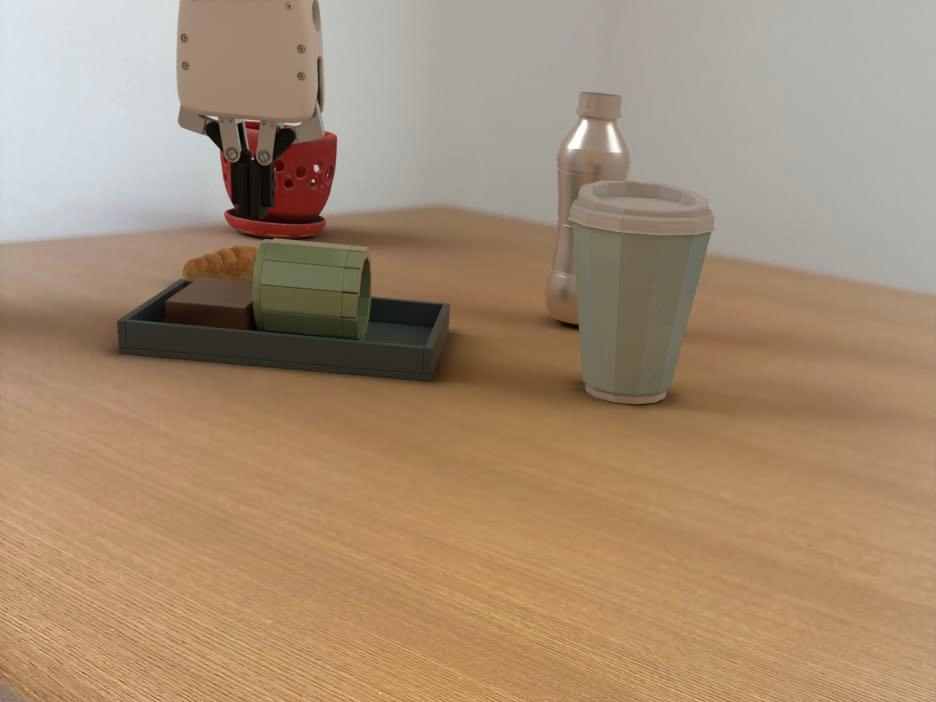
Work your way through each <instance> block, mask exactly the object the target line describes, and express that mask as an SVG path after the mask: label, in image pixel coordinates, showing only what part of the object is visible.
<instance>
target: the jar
mask: <svg viewBox="0 0 936 702" xmlns="http://www.w3.org/2000/svg"><path fill="white" fill-rule="evenodd" d="M258 247H259V249H258V252H257V256H256V261H255V267H254V275H253V311H254V318H255V323H256V326H257V329H258V331H260V332H271V333H282V334H293V335H304V336H315V337H326V338H337V339H348V340H359V341H364V340H365V339H366V336H367V331H368V326H369V319H370V310H371V297H373V265H372V255H371V253H370V249H369V247H368V246H361V245H351V244H339V243H329V242H319V241H307V240H299V239H281V238H264V239H263V240H261V242H260V244H259V246H258Z"/></svg>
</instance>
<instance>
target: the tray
mask: <svg viewBox="0 0 936 702" xmlns="http://www.w3.org/2000/svg"><path fill="white" fill-rule="evenodd" d="M194 281H196V280H185V279H183V278H179V279H178V280H176V281H175V282H174V283H172V284H170V285H169V286H167V287H166V288H164V289H162V290H161V291H159V292H158V293H157V294H155V295H154V296H152V297H150V298H149V299H148V300H146V301H145V302H143V303H141V304H140V305H138V306H137V307H135V308H134V309H132V310H131V311H130V312H128V313H126V314H125V315H123V316H122V317H120V318H119V319H117V320H116V328H117V329H116V330H117V341H118V342H117V345H118V354H120V355H121V354H122V355H131V356H143V357H154V358H166V359H176V360H186V361H189V360H190V361H199V362H210V363H220V364H231V365H232V364H233V365H242V366H255V367H266V368H277V369H287V370H299V371H309V372H311V371H312V372H322V373H332V374H333V373H334V374H342V375H343V374H344V375H353V376H367V377H376V378H377V377H378V378H387V379H400V380H410V381H421V382H422V381H423V382H431V381H432V379H433V376H434V373H435V370H436V367H437V364H438V362H439V359H440V356H441V353H442V351H443V348H444V346H445V344H446V340H447V337H448V335H449V332H450V314H451V313H450V312H451V304H450V303H447V302H444V303H443V302H438V301H437V302H436V301H425V300H424V301H423V300H415V299H404V298H394V297H393V298H391V297H380V296H372V297H371V310H370V319H369V326H368V331H367V336H366V339H365V340H364V341H359V340H348V339H337V338H326V337H315V336H304V335H293V334H282V333H271V332H260V331H249V330H237V329H226V328H215V327H204V326H193V325H182V324H171V323H166V305H165V302H166V301H167V300H168V299H169V298H171V297H172V296H174V295H175V294H177V293H178V292H180V291H181V290H182V289H184V288H185V287H187V286H188V285H190V284H191V283H193V282H194Z"/></svg>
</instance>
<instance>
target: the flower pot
mask: <svg viewBox="0 0 936 702" xmlns="http://www.w3.org/2000/svg"><path fill="white" fill-rule="evenodd" d="M244 121H245V127H246V134H247V140H248V146H249V151H250V152H251V155H252V159H254V155H255V154H256V151H257V143H258V135H259V127H260V121H257V120H244ZM291 126H294V125H292V124H287V123H284V128H286V127H291ZM337 154H338V136H337V135H336V134H335V133H333V132H330V131H327V130H325V135H324V137H323V138H321V139H319V140H315V141H309V142H303V143H297V144H293V145H292V146H291V147H290V148H289V149H288V150H287V151H286V152H285V153H284V154H283V155H281V156H280V158H279V159H278V160H277V161H275V205H274V207H273V208H270V207H269V212H268V215H267V216H265V217H264V218H262V219H260V220H259V219H253V217H248V218H239V216H238V205H236V204H232V206H233V208H229V209H226V210H225V211H224V213H223V215H224V219H225V221H226V222H227V223H228V224H229V226H230V227H231V228H233V229H235V230H236V231H238V232H240V234H241V235H251V236H256V237H262V238H267V239H274V238H276V239H287V240H298V239H304V238H310V237H314V236H316V235H318V234H320V233H322V231H323V230H324V229H325V227H326V224H327V220H326V219H325V217H323V216H322V215H321V213H322V212H323V211H324V208H325V206H326V205H327V202H328V200H329V198H330V194H331V192H332V187H333V182H334V178H335V173H336V166H337V156H338V155H337ZM219 158H220V165H221V173H222V180H223V184H224V188H225V191H226V193H227V196H228V199H229V200H230V203H232V200H231V169H230V162H229V161H228V160H226V158H225V156H224V153H223V152H222V151H221V150H220V149H219ZM315 166H317V168H318V169H317V171H316V170H315ZM313 180H314V181H313Z"/></svg>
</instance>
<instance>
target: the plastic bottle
mask: <svg viewBox="0 0 936 702" xmlns="http://www.w3.org/2000/svg"><path fill="white" fill-rule="evenodd" d="M622 97H623V96H622V95H619V94H612V93H603V92H593V91H591V92H590V91H579V94H578V100H577V101H578V102H577V107H576V109H575V115H578V120H577V122H576V123H575V125H574V126H573V127H572V128H571V130H570V131H569V132H568V133H567V134H566V135H565V137H564V138H563V140H562V141H561V143H560V145H559V147H558V149H557V153H556V158H555V159H556V160H555V162H556V165H555V166H556V183H557V219H558V220H557V221H556V222H557V223H556V226H557V227H556V236H555V243H554V249H553V255H552V262H551V268H550V270H549V272H548V276H547V280H546V285H545V290H544V300H545V302H544V303H545V308H546V310H547V313H548V314H549V316H550V317H551V318H552V319H554V320H556V321H560V322H563V323H566V324H570V325H573V326H578V327H579V317H578V302H577V286H576V271H575V256H574V240H573V225H572V221H571V220H568V218H569V216H570V209H571V205H572V203H573V201H574V200H575V199H578V194H579V191H580V188H581V186H583V185H586V184H590V183H594V182H597V181H628V177H629V173H630V169H631V157H630V151H629V148H628V146H627V144H626V141H625V139H624V137H623V135H622V133H621V131H620V130H619V128H618V123H617V122H618V119H621V118H622V112H621V108H622V102H623V98H622Z"/></svg>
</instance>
